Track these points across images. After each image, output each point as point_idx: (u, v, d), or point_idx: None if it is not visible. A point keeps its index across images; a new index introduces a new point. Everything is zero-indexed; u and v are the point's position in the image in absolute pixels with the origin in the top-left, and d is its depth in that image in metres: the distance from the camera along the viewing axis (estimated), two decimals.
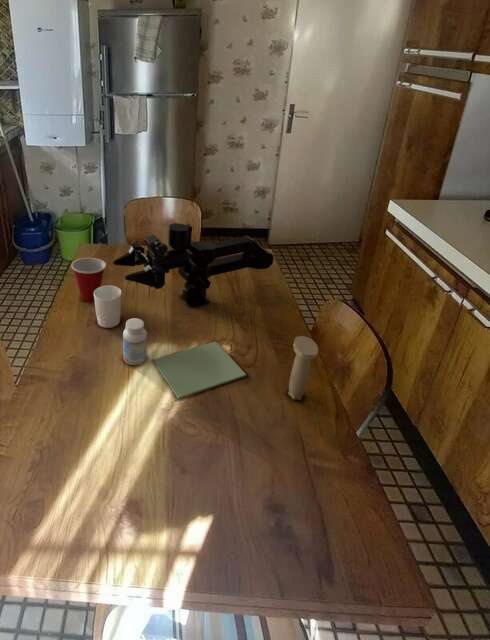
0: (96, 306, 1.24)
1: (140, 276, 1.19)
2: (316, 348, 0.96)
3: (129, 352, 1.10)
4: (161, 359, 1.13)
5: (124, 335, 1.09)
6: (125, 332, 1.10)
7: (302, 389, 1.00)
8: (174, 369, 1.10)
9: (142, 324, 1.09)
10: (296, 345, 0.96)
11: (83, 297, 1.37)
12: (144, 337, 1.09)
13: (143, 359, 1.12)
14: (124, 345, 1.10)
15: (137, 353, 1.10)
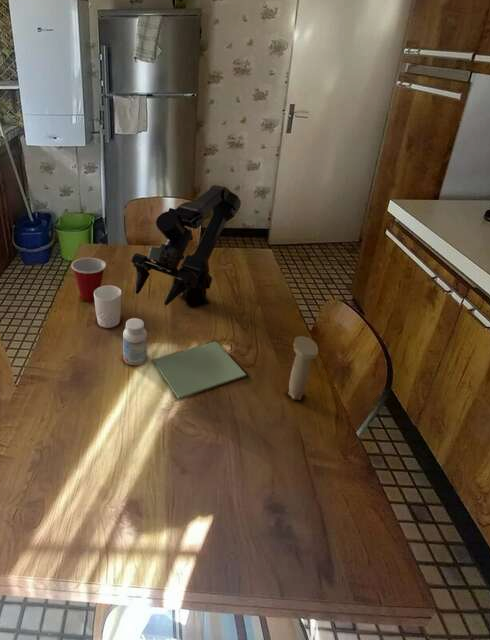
0: (96, 306, 1.24)
1: (175, 291, 1.12)
2: (316, 348, 0.96)
3: (129, 352, 1.10)
4: (161, 359, 1.13)
5: (124, 335, 1.09)
6: (125, 332, 1.10)
7: (302, 389, 1.00)
8: (174, 369, 1.10)
9: (142, 324, 1.09)
10: (296, 345, 0.96)
11: (83, 297, 1.37)
12: (144, 337, 1.09)
13: (143, 359, 1.12)
14: (124, 345, 1.10)
15: (137, 353, 1.10)
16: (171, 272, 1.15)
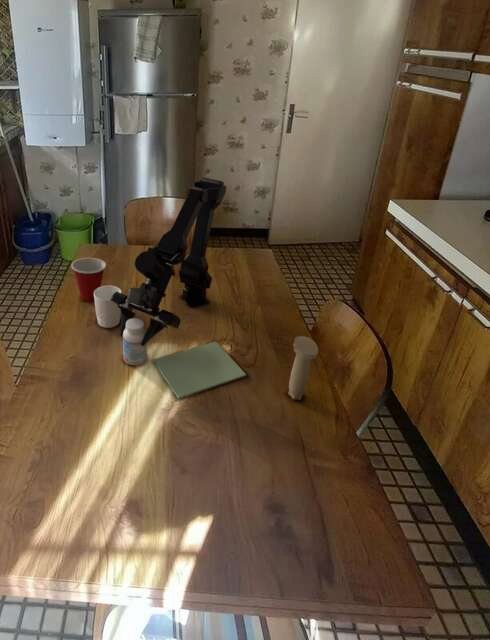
0: (96, 306, 1.24)
1: (152, 331, 1.09)
2: (316, 348, 0.96)
3: (129, 352, 1.10)
4: (161, 359, 1.13)
5: (124, 335, 1.09)
6: (125, 332, 1.10)
7: (302, 389, 1.00)
8: (174, 369, 1.10)
9: (142, 324, 1.09)
10: (296, 345, 0.96)
11: (83, 297, 1.37)
12: None
13: (143, 359, 1.12)
14: (124, 345, 1.10)
15: (137, 353, 1.10)
16: (147, 311, 1.11)
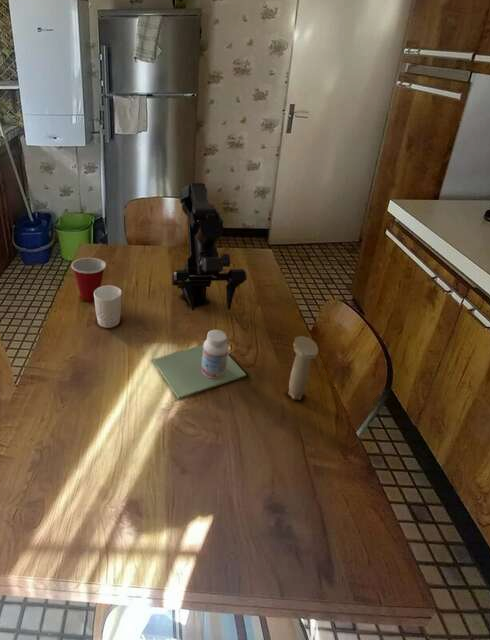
0: (96, 306, 1.24)
1: None
2: (316, 348, 0.96)
3: (219, 365, 1.05)
4: (161, 359, 1.13)
5: (211, 351, 1.03)
6: (210, 348, 1.04)
7: (302, 389, 1.00)
8: (174, 369, 1.10)
9: (223, 333, 1.05)
10: (296, 345, 0.96)
11: (83, 297, 1.37)
12: (227, 345, 1.06)
13: None
14: (211, 362, 1.04)
15: (225, 363, 1.06)
16: (218, 277, 1.13)
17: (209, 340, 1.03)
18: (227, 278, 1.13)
